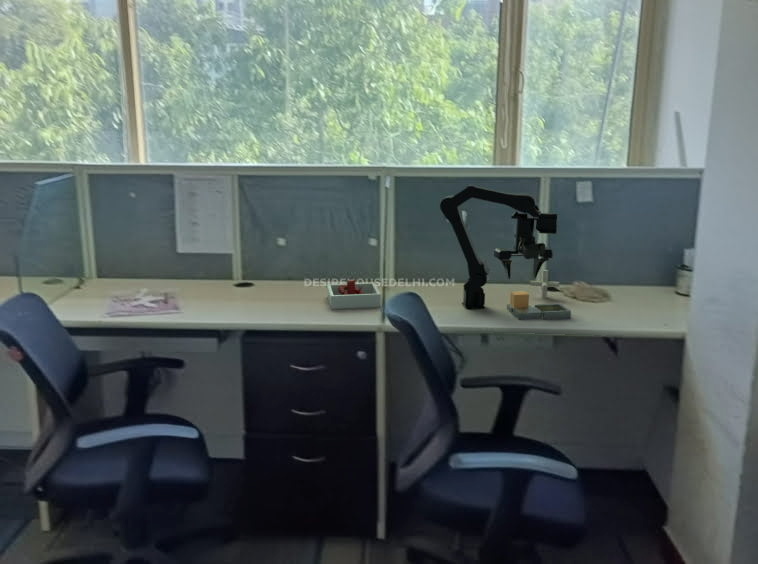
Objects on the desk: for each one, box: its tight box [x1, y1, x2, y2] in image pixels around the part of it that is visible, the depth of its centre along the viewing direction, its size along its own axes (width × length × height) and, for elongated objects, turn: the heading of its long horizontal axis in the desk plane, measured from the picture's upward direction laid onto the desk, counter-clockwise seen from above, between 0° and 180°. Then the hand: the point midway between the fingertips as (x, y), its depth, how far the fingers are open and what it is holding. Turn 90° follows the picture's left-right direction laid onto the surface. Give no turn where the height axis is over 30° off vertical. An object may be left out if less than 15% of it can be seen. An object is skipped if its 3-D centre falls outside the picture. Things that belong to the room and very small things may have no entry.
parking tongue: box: [506, 303, 532, 314], centre depth 247 cm, size 7×5×2 cm
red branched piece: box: [338, 277, 364, 295], centre depth 257 cm, size 11×12×8 cm
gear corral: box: [326, 282, 382, 310], centre depth 258 cm, size 17×16×4 cm
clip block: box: [509, 290, 530, 308], centre depth 246 cm, size 5×4×4 cm
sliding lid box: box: [512, 302, 572, 321], centre depth 241 cm, size 17×9×2 cm, turn 98°
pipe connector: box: [529, 269, 560, 299], centre depth 261 cm, size 10×10×10 cm
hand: (521, 278), depth 245 cm, fingers open, 9 cm apart
